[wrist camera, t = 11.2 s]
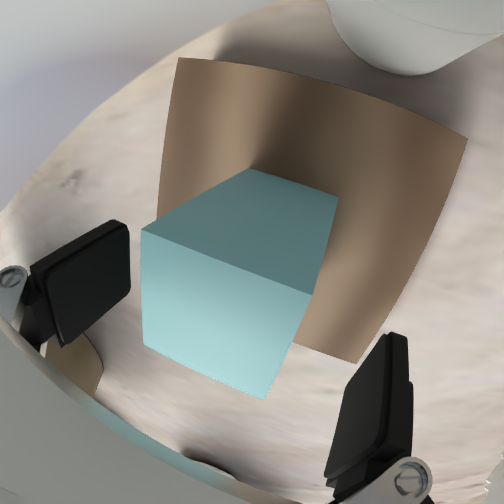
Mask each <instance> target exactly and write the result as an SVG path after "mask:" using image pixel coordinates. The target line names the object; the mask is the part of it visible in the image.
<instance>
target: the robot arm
mask: <svg viewBox="0 0 504 504" xmlns="http://www.w3.org/2000/svg"><path fill="white" fill-rule="evenodd" d="M30 271H31V275H29V276H28V273H27V270H26V269H25V268H24V267H21V266H17V265H15V266H9V267H6V268H4V269H2V270H1V271H0V504H302V503H299V502H295V501H292V500H289V499H286V498H283V497H280V496H277V495H274V494H271V493H268V492H265V491H262V490H260V489H257V488H255V487H252V486H249V485H247V484H244V483H242V482H239V481H237V480H234V479H232V478H230V477H227V476H225V475H223V474H220V473H218V472H216V471H214V470H211V469H209V468H207V467H205V466H203V465H201V464H199V463H197V462H195V461H193V460H191V459H189V458H187V457H185V456H183V455H181V454H179V453H177V452H175V451H173V450H172V449H170V448H168V447H166V446H164V445H163V444H161V443H159V442H158V441H156V440H154V439H152V438H151V437H149V436H147V435H146V434H144V433H142V432H141V431H139V430H138V429H136V428H134V427H133V426H131V425H130V424H128V423H127V422H125V421H124V420H122V419H121V418H119V417H118V416H116V415H115V414H113V413H112V412H111V411H109V410H108V409H106V408H105V407H104V406H102V405H101V404H99V403H98V402H97V401H95V400H94V399H93V398H91V397H90V396H89V395H88V394H86V393H85V392H84V391H82V390H81V389H80V388H79V387H77V386H76V385H75V384H74V383H73V382H71V381H70V380H69V379H68V378H67V377H65V376H64V375H63V374H62V373H61V372H59V371H58V370H57V369H56V368H55V367H54V366H53V365H52V364H50V363H49V362H48V361H47V360H46V359H45V354H46V348H47V342H48V339H49V338H50V337H51V339H52V341H53V342H54V343H55V344H56V345H57V346H58V347H60V348H63V347H64V346H65V345H66V344H70V343H72V342H73V341H74V340H75V339H76V338H77V337H79V336H80V335H81V334H82V333H83V332H84V331H85V330H87V329H88V328H89V327H90V326H91V325H92V324H93V323H95V322H96V321H97V320H98V319H99V318H100V317H102V316H103V315H104V314H105V313H106V312H107V311H109V310H110V309H111V308H112V307H113V306H114V305H116V304H117V303H118V302H119V301H120V300H122V299H123V298H124V297H125V296H126V295H127V294H128V293H129V291H130V288H131V280H130V234H129V230H128V228H127V225H125V224H124V223H121V222H119V221H117V220H114V219H112V220H110V221H108V222H106V223H104V224H102V225H100V226H98V227H97V228H95V229H93V230H91V231H89V232H87V233H86V234H84V235H82V236H80V237H78V238H77V239H75V240H73V241H71V242H70V243H68V244H66V245H64V246H63V247H61V248H59V249H58V250H56V251H54V252H53V253H51V254H49V255H48V256H46V257H44V258H43V259H41V260H39V261H38V262H36V263H34V264H33V265H31V266H30ZM412 436H413V384H412V382H410V381H409V361H408V340H407V337H405V336H402V335H400V334H397V333H394V332H390V333H389V334H388V335H386V334H383V335H382V336H381V337H380V339H379V340H378V342H377V343H376V345H375V346H374V348H373V349H372V351H371V352H370V353H369V355H368V356H367V358H366V359H365V361H364V362H363V363H362V365H361V366H360V367H359V369H358V370H357V372H356V373H355V374H354V376H353V377H352V378H351V380H350V381H349V382H348V384H347V386H346V388H345V391H344V395H343V400H342V404H341V409H340V413H339V418H338V422H337V426H336V430H335V434H334V438H333V442H332V446H331V450H330V454H329V457H328V461H327V464H326V468H325V471H324V477H325V478H328V479H327V482H326V486H328V487H332V488H335V490H334V493H333V497H334V498H333V499H332V500H330V501H329V502H327V503H326V504H435V503H434V502H433V501H432V499H431V498H430V497H429V495H428V493H429V492H430V490H431V487H432V474H431V470H430V468H429V467H428V465H427V464H426V463H425V462H424V461H423V460H421V459H419V458H417V457H411V452H412Z"/></svg>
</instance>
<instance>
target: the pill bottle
mask: <svg viewBox="0 0 504 504" xmlns="http://www.w3.org/2000/svg"><path fill="white" fill-rule="evenodd" d="M325 1H326V3H327V6H328V9H329V11H330V14H331V17H332V20H333V23H334V25H335V28H336V30H337V32H338V33H339V35H340V37H341V38H342V39H343V41H344V42H345V43H346V45H347V46H348V47H349V48H350V49H351V50H352V51H353V52H354V53H355V54H356V55H357V56H359V57H360V58H361V59H363V60H364V61H366V62H367V63H369V64H370V65H372V66H374V67H376V68H378V69H381V70H383V71H386V72H390V73H394V74H399V75H422V74H427V73H430V72H433V71H435V70H438V69H439V68H441V67H443V66H445V65H447V64H448V63H450V62H452V61H454V60H455V59H457V58H459V57H461V56H463V55H465V54H466V53H468V52H470V51H472V50H474V49H476V48H478V47H480V46H481V45H483V44H485V43H487V42H489V41H491V40H493V39H495V38H497V37H499V36H501V35H503V34H504V0H325Z"/></svg>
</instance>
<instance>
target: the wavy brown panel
mask: <svg viewBox="0 0 504 504" xmlns="http://www.w3.org/2000/svg"><path fill="white" fill-rule="evenodd" d="M467 140H468V139H467V138H466V137H464V136H462V135H460V134H458V133H456V132H454V131H452V130H450V129H448V128H446V127H444V126H442V125H440V124H438V123H436V122H434V121H432V120H430V119H427V118H425V117H423V116H421V115H418V114H416V113H414V112H411V111H409V110H407V109H404V108H402V107H399V106H397V105H394V104H392V103H389V102H386V101H384V100H381V99H378V98H376V97H373V96H370V95H367V94H364V93H361V92H358V91H355V90H352V89H349V88H346V87H342V86H339V85H336V84H332V83H329V82H325V81H321V80H318V79H314V78H310V77H306V76H302V75H297V74H293V73H289V72H284V71H279V70H274V69H269V68H264V67H258V66H252V65H246V64H239V63H232V62H224V61H216V60H206V59H195V58H180V57H179V58H178V63H177V68H176V73H175V78H174V83H173V89H172V94H171V100H170V106H169V113H168V119H167V126H166V133H165V140H164V148H163V156H162V165H161V174H160V184H159V195H158V207H157V219H159V218H160V217H162V216H164V215H165V214H167V213H169V212H170V211H172V210H174V209H175V208H177V207H179V206H181V205H182V204H184V203H186V202H188V201H189V200H191V199H193V198H194V197H196V196H198V195H200V194H202V193H203V192H205V191H207V190H209V189H210V188H212V187H214V186H216V185H218V184H220V183H221V182H223V181H225V180H227V179H229V178H231V177H232V176H234V175H236V174H238V173H240V172H242V171H244V170H246V169H248V168H251V169H254V170H257V171H261V172H264V173H267V174H271V175H274V176H277V177H280V178H283V179H286V180H290V181H293V182H296V183H299V184H302V185H305V186H308V187H311V188H314V189H317V190H320V191H323V192H325V193H328V194H331V195H334V196H337V197H339V199H338V203H337V207H336V211H335V215H334V219H333V223H332V227H331V231H330V235H329V238H328V242H327V246H326V250H325V253H324V257H323V261H322V264H321V268H320V271H319V275H318V278H317V282H316V285H315V288H314V292H313V295H312V298H311V300H310V302H309V305H308V307H307V309H306V312H305V314H304V316H303V319H302V321H301V323H300V326H299V328H298V330H297V332H296V335H295V337H294V339H293V341H292V342H294V343H297V344H299V345H302V346H305V347H308V348H310V349H313V350H316V351H319V352H322V353H324V354H327V355H330V356H333V357H336V358H339V359H342V360H345V361H348V362H351V363H354V364H357V362H358V361H359V359H360V358H361V356H362V355H363V353H364V352H365V350H366V349H367V347H368V346H369V344H370V343H371V341H372V340H373V338H374V337H375V335H376V334H377V332H378V331H379V329H380V327H381V326H382V324H383V323H384V321H385V319H386V318H387V316H388V314H389V313H390V311H391V309H392V308H393V306H394V304H395V303H396V301H397V299H398V297H399V296H400V294H401V292H402V290H403V289H404V287H405V285H406V283H407V281H408V279H409V278H410V276H411V274H412V272H413V270H414V268H415V266H416V264H417V262H418V260H419V258H420V256H421V254H422V252H423V250H424V248H425V246H426V244H427V242H428V240H429V238H430V236H431V234H432V231H433V229H434V227H435V225H436V223H437V220H438V218H439V216H440V213H441V211H442V209H443V206H444V204H445V201H446V199H447V197H448V194H449V191H450V189H451V186H452V184H453V181H454V178H455V176H456V173H457V170H458V167H459V164H460V162H461V159H462V156H463V153H464V150H465V146H466V143H467Z"/></svg>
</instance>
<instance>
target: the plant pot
mask: <svg viewBox="0 0 504 504" xmlns="http://www.w3.org/2000/svg"><path fill="white" fill-rule="evenodd" d="M45 359H46V360H47V361H48V362H49V363H50V364H52V365H53V366H54V367H55V368H56V369H57V370H58V371H59V372H61V373H62V374H63V375H64V376H65V377H67V378H68V379H69V380H70V381H71V382H73V383H74V384H75V385H76V386H77V387H79V388H80V389H81V390H82V391H84V392H85V393H86V394H88V395H89V396H90V397H91V398H93V396H94V394H95V391H96V389H97V387H98V384H99V381H100V379H101V376H102V373H103V366H102V362H101V360H100V357H99V355H98V354H97V352H96V350H95V348H94V347H93V345H92V344H91V342H90V341H89V340H88V338H87V337H86V336H85V335H84V333H82V334H81V335H80V336H79V337H77V338H76V339H75V340H74V341H73V342H72V343H70V344H66V345H65V346H64V347H63V348H60V347H58V346H57V345H56V344H55V343H54V342H53V341H52V339H51V337H50V338H49V339H48V342H47V348H46V354H45Z"/></svg>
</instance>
